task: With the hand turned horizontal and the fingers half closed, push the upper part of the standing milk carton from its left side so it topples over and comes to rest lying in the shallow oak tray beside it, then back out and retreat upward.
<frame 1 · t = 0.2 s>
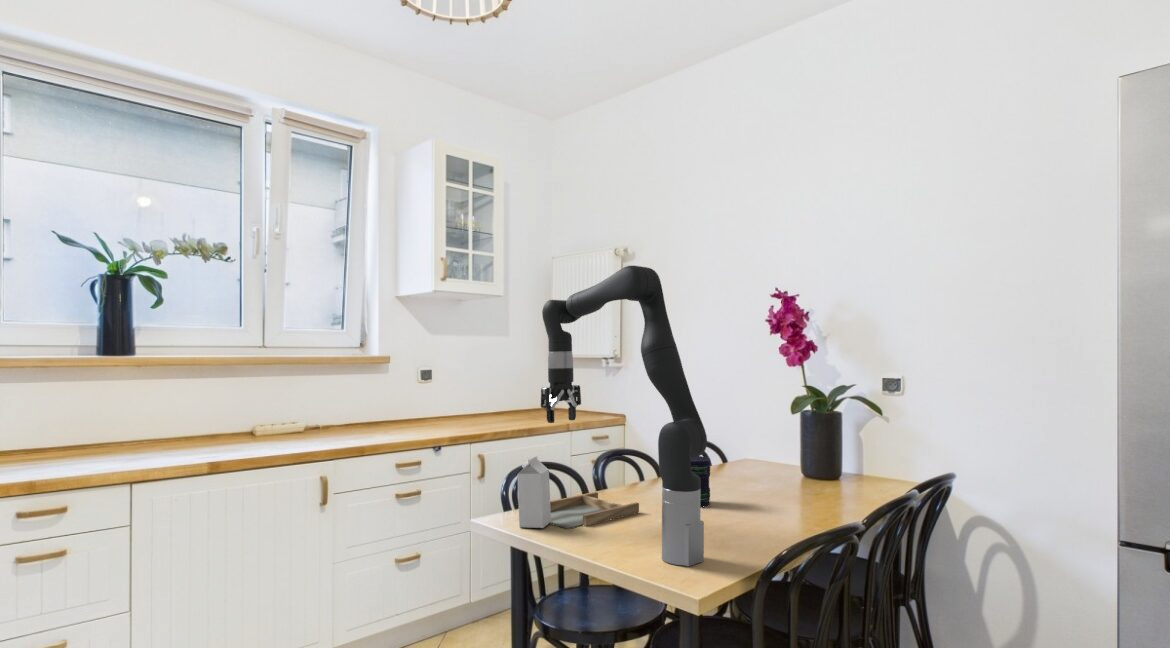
hand: (561, 421, 183), 29 cm above the table, tool pointing down, fingers open, 8 cm apart
milk carton: (535, 525, 176), on the table, touching tray
dark blue barrel: (694, 504, 204), on the table
tray: (574, 516, 186), on the table
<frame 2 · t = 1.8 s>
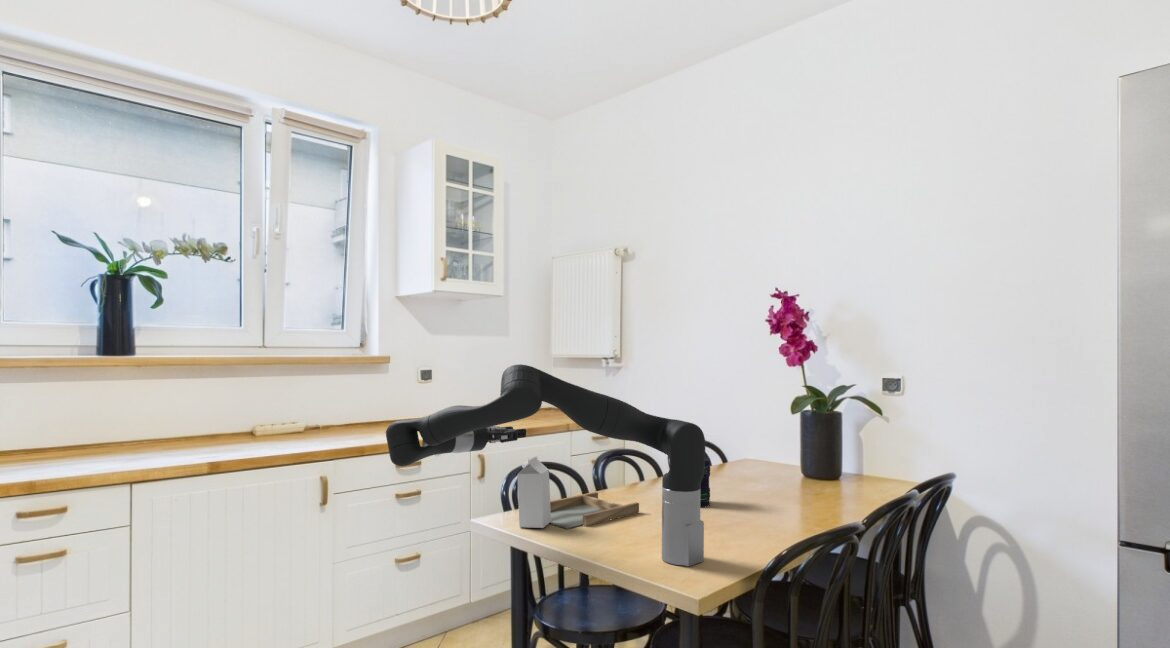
hand: (518, 431, 166), 28 cm above the table, tool horizontal, fingers open, 5 cm apart
nothing on the table moved.
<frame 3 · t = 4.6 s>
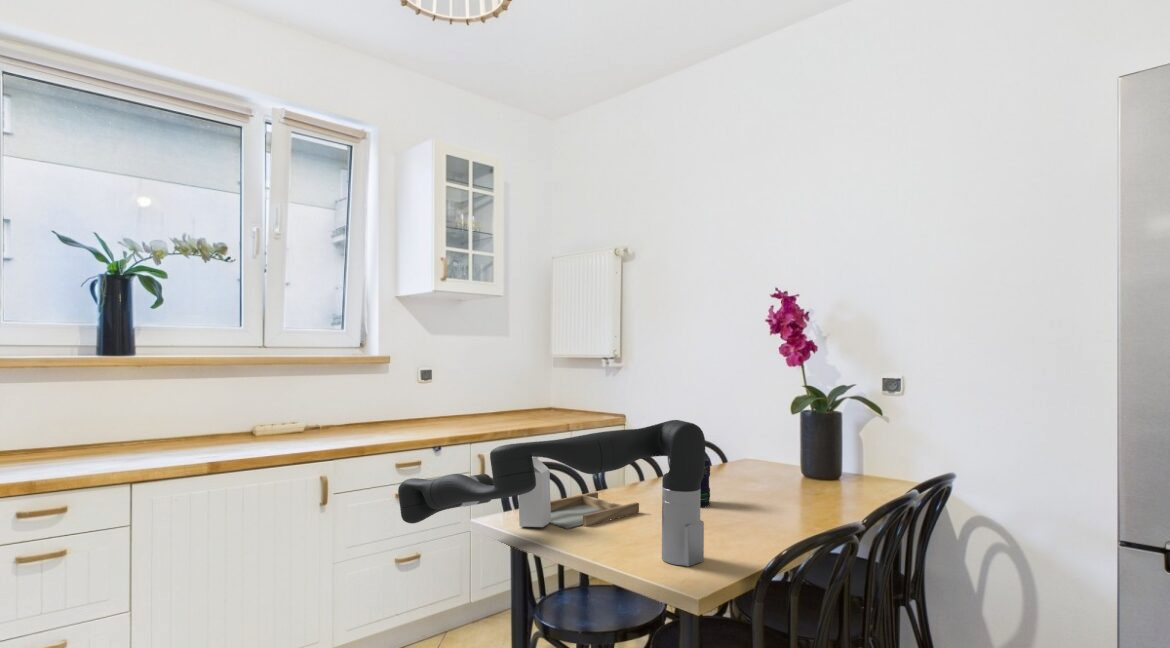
hand: (524, 481, 174), 13 cm above the table, tool horizontal, fingers closed
nothing on the table moved.
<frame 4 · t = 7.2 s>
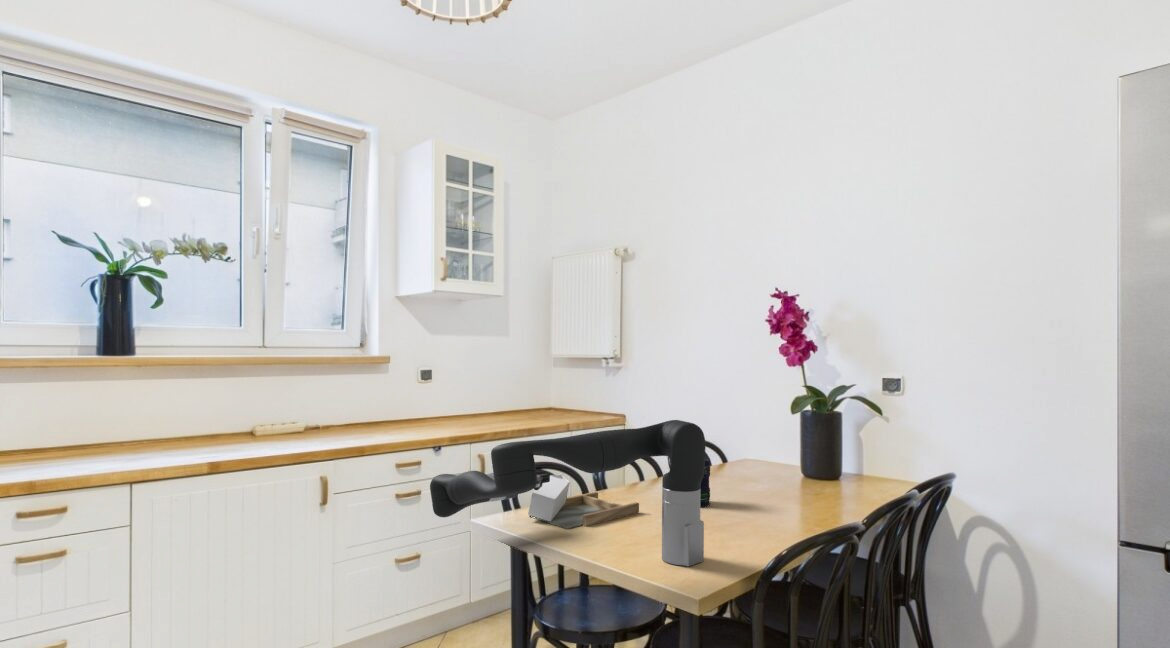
hand: (548, 477, 180), 13 cm above the table, tool horizontal, fingers closed
milk carton: (541, 507, 178), point 5 cm above the table, touching tray
everything else where it was.
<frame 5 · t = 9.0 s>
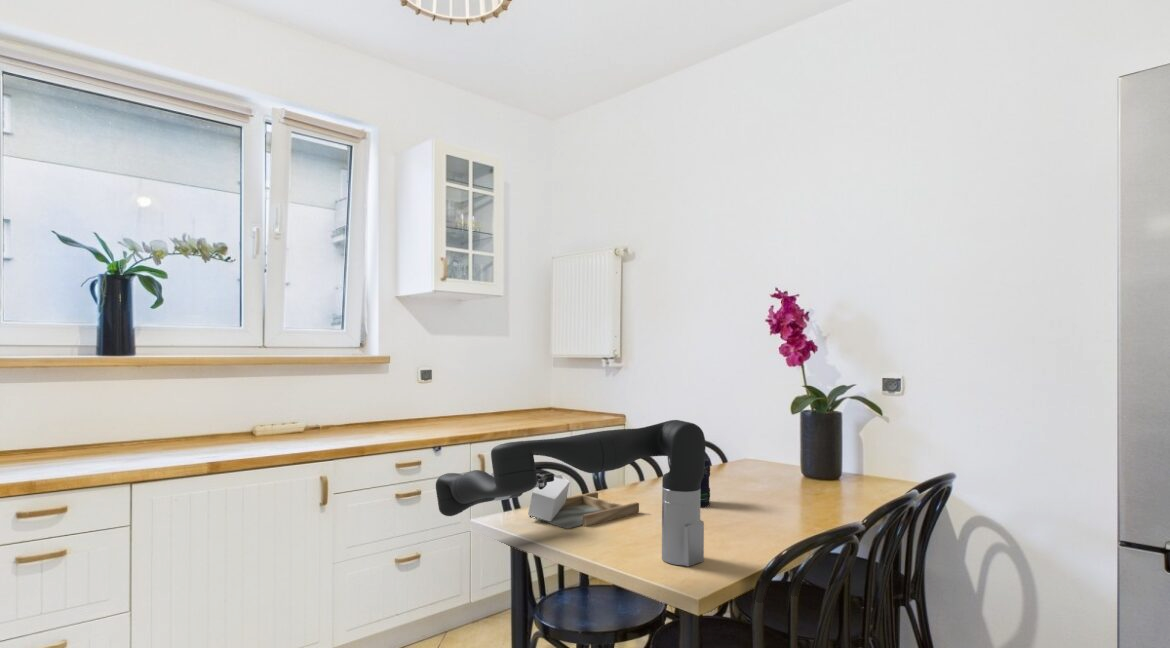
hand: (552, 477, 181), 13 cm above the table, tool horizontal, fingers closed
nothing on the table moved.
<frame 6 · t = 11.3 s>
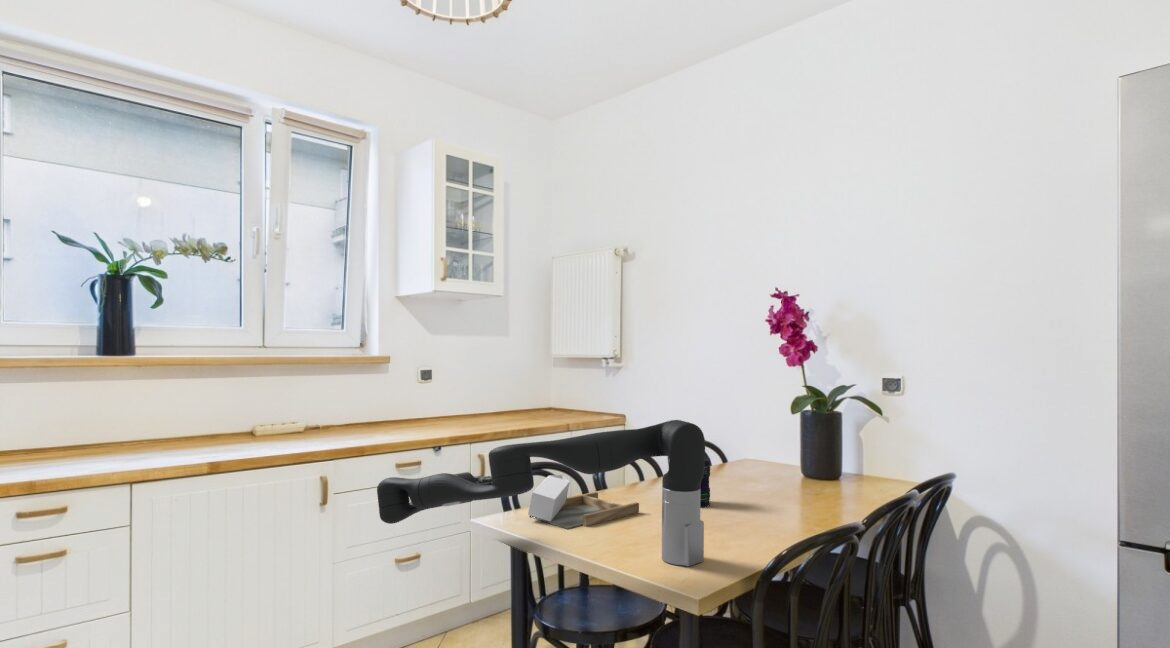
hand: (509, 480, 170), 14 cm above the table, tool horizontal, fingers closed
nothing on the table moved.
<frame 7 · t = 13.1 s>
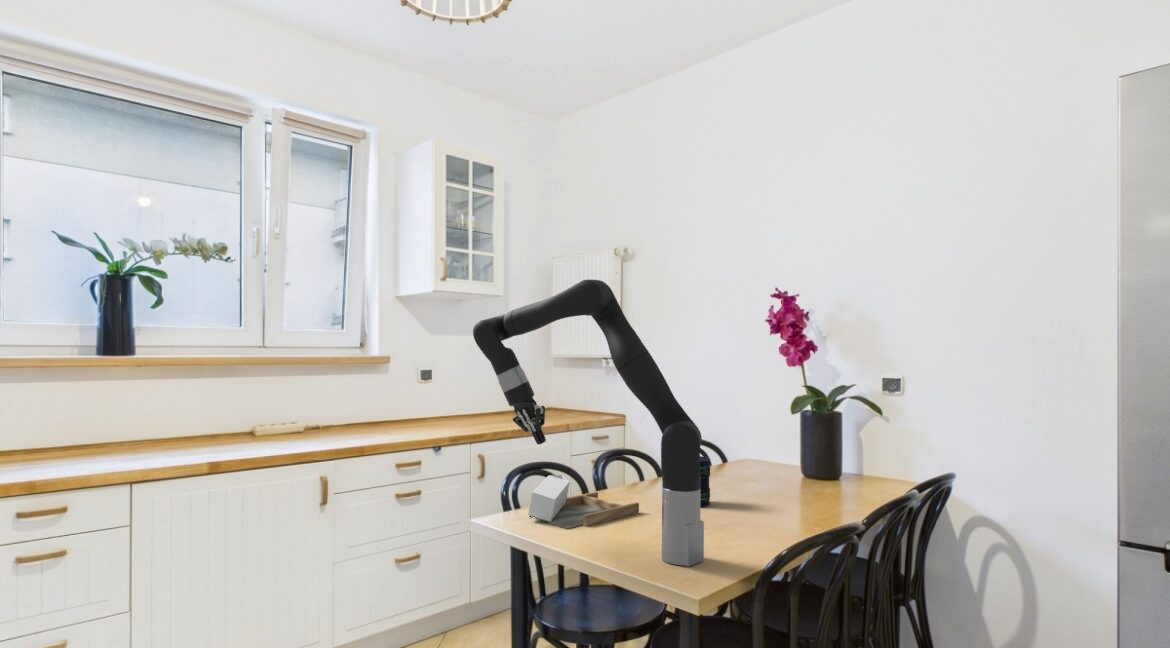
hand: (541, 443, 169), 25 cm above the table, tool tilted 25°, fingers closed
nothing on the table moved.
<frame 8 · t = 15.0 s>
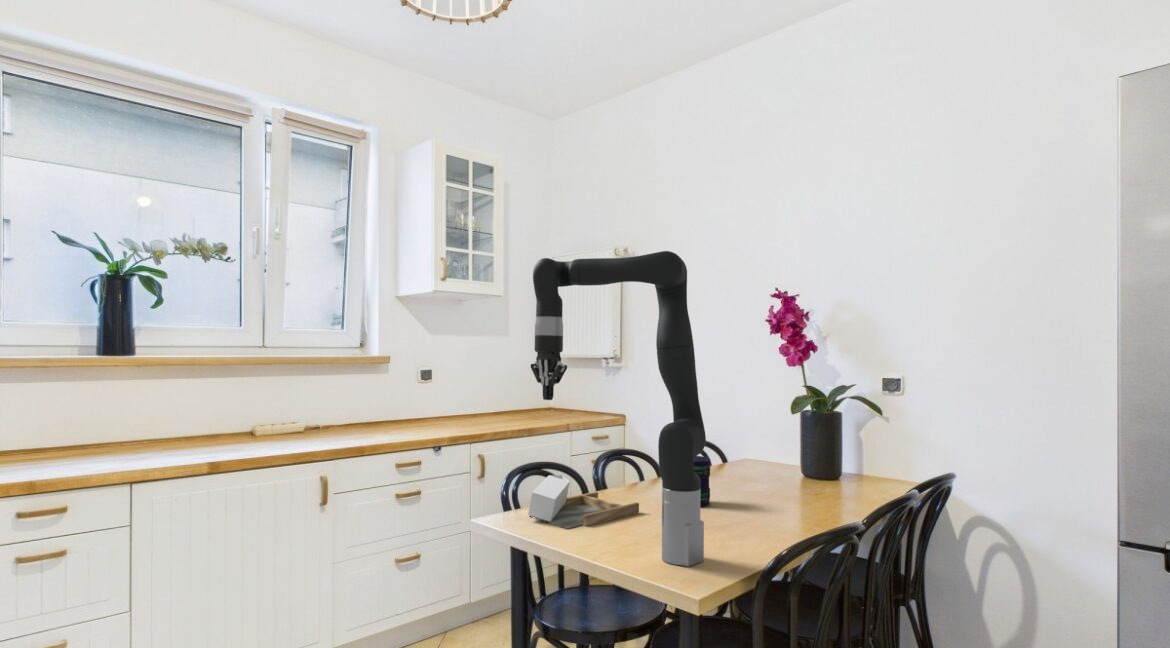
hand: (547, 399, 163), 37 cm above the table, tool pointing down, fingers closed
nothing on the table moved.
at the end: milk carton tilted 82°; milk carton inside the target area (9.0 cm from its centre), point 4.6 cm above the table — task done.
